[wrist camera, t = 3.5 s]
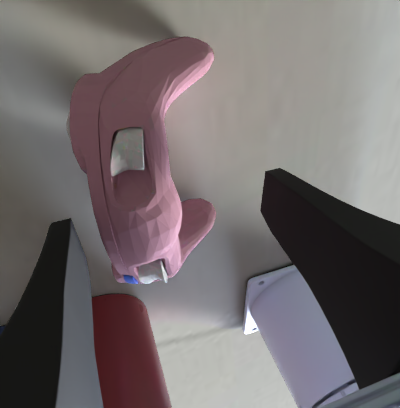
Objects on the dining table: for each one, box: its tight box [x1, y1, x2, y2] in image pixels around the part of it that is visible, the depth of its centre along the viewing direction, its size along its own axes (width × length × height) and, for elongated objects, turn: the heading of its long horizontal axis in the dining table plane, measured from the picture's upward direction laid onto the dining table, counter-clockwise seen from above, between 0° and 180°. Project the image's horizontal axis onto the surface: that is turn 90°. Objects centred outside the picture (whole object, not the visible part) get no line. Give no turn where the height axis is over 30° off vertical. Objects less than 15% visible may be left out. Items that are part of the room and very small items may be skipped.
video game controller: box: [67, 37, 216, 284], centre depth 14 cm, size 10×5×7 cm, turn 2°
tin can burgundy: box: [92, 294, 172, 408], centre depth 21 cm, size 6×6×9 cm
